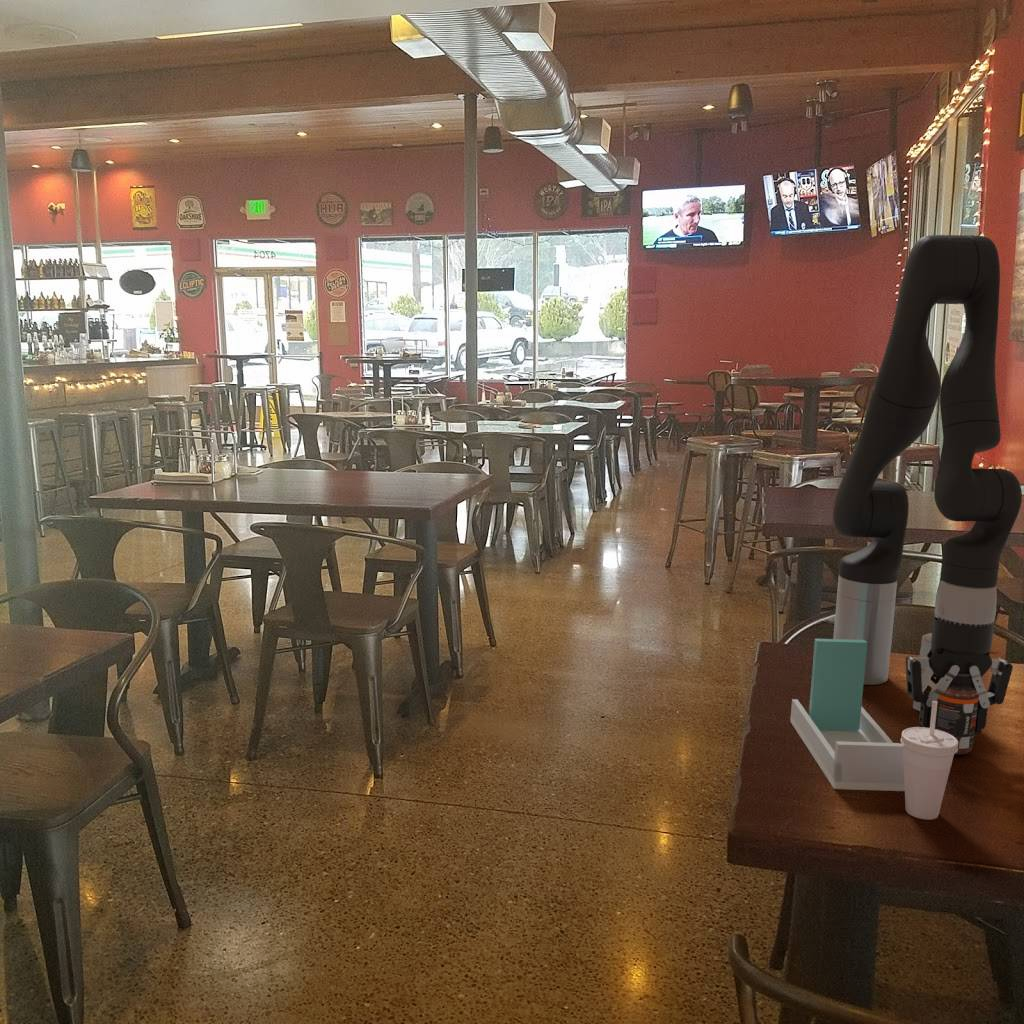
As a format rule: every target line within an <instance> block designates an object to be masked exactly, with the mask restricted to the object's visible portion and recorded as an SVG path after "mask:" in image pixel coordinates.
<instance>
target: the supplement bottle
mask: <svg viewBox="0 0 1024 1024" xmlns="http://www.w3.org/2000/svg"><path fill="white" fill-rule="evenodd" d="M938 682H939V681H938ZM938 682H937V684H938ZM978 700H979V695H978V693H977V691H976V690H975V689H974V686H973V685H972V679H971V676H970V674H969V673H958V674H957V675H956V677H955V678H953V680H952V681H951V683H950V684H949V686H948V688H947V689H946V691H945V692H944V694H940V697H939V698H938V700H937V702H938V703H937V712H936V722H935V729H937V730H940V731H943V732H946V733H948V734H950V735H952V736H954V737H955V738H956V739H957V740H958V751H957V753H955V754H954V755H957V756H958V755H960V756H961V755H966V754H969V753H970V752H972V750H973V748H974V740H975V734H976V733H975V726H976V717H977V709H978Z"/></svg>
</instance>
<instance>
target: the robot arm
mask: <svg viewBox="0 0 1024 1024" xmlns="http://www.w3.org/2000/svg"><path fill="white" fill-rule="evenodd" d="M999 256H1000V255H999V252H998V249H997V246H996V245H995V243H994V241H993V240H992V239H991V238H989V237H988V236H983V235H975V234H973V235H972V234H931V235H930V234H929V235H924V236H922V237H921V238H919V239H917V241H916V242H915V243H914V244H913V246H912V248H911V250H910V251H909V253H908V257H907V259H906V262H905V267H904V270H903V273H902V279H901V283H900V288H899V292H898V297H897V301H896V306H895V307H896V308H895V312H894V318H893V322H892V326H891V330H890V332H889V333H890V334H889V338H888V341H887V344H886V348H885V351H884V355H883V358H882V361H881V364H880V367H879V370H878V372H877V375H876V379H875V381H874V384H873V387H872V391H871V393H870V397H869V400H868V405H867V407H866V412H865V416H864V420H863V423H862V426H861V429H860V432H859V433H860V434H859V436H858V439H857V443H856V446H855V448H854V451H853V454H852V455H851V458H850V461H849V462H848V465H847V467H846V469H845V472H844V475H843V477H842V479H841V482H840V484H839V486H838V489H837V492H836V495H835V498H834V504H833V509H832V510H833V511H832V519H833V526H834V529H835V530H836V531H837V532H838V533H839V534H840V535H842V536H846V537H849V538H873V539H872V541H871V542H870V543H869V544H868V545H866V546H865V547H864V548H862V549H860V550H857V551H855V552H853V553H850V554H847V555H845V556H843V557H842V558H841V559H840V561H839V567H838V568H839V569H838V577H837V578H838V579H837V591H836V592H837V593H836V602H835V603H836V604H835V615H834V627H833V637H832V639H847V640H865V641H866V642H867V652H866V663H865V674H864V685H868V686H870V685H881V684H884V683H886V682H887V681H888V679H889V672H890V671H889V670H890V669H889V668H890V659H891V650H892V641H893V630H894V629H893V628H894V620H895V609H896V597H897V587H898V579H899V577H898V576H899V571H900V568H901V565H902V560H903V554H904V553H903V552H904V545H905V539H906V538H905V537H906V532H907V527H908V526H907V525H908V521H909V503H910V502H909V495H908V493H907V490H906V488H905V487H904V485H902V484H901V483H899V482H896V481H880V480H879V481H877V479H878V477H879V476H880V474H881V473H882V471H883V470H884V469H885V468H886V467H888V465H889V464H890V463H891V462H893V461H894V459H896V458H897V457H898V456H899V455H901V454H902V453H903V452H904V451H905V450H907V449H908V448H909V447H910V446H911V445H912V444H913V443H915V442H916V441H917V440H918V439H919V438H920V436H922V434H923V433H924V432H925V430H927V428H928V426H929V423H930V422H931V419H932V416H933V413H934V410H935V408H936V405H937V403H938V399H939V408H940V416H941V417H940V418H941V425H942V426H941V429H942V445H941V446H942V447H941V453H940V457H939V458H940V459H939V465H938V470H937V475H936V479H935V483H934V489H933V491H934V495H933V497H934V501H935V505H936V508H937V509H938V512H939V513H940V514H941V515H942V516H943V517H944V518H945V519H947V520H949V521H952V522H974V524H973V527H972V528H971V529H970V530H969V531H967V532H966V533H964V534H961V535H958V536H954V537H950V538H949V539H947V541H945V543H944V545H943V548H942V556H941V566H940V567H941V568H940V574H939V575H940V577H939V582H938V586H937V590H936V594H935V602H934V603H935V604H934V611H933V618H932V619H933V621H932V630H931V633H932V638H931V649H930V651H929V653H928V654H927V656H925V657H920V656H919V657H918V656H916V657H915V656H913V655H912V654H910V655H907V656H906V657H905V674H906V675H905V676H906V693H907V695H908V696H909V697H911V699H912V700H913V702H914V701H915V702H920V703H921V705H920V711H919V717H918V722H919V724H920V726H922V727H925V728H930V721H931V712H932V702H933V701H937V700H938V698H939V697H940V694H944V692H945V691H946V689H947V688H948V686H949V684H950V683H951V681H952V680H953V678H955V677H956V675H957V674H958V673H969V674H970V676H971V679H972V685H973V686H974V689H975V690H976V691H977V693H978V695H979V700H978V709H977V717H976V726H975V734H981V733H982V730H984V729H985V728H986V726H987V718H988V717H987V716H988V710H989V708H990V707H991V706H993V705H1002V704H1003V703H1004V700H1005V697H1006V694H1007V690H1008V686H1009V683H1010V680H1011V675H1012V672H1013V668H1014V666H1013V665H1012V663H1010V662H1009V661H1008V660H1006V659H1004V657H998V658H992V657H991V654H990V653H991V649H992V644H993V636H994V628H995V619H996V618H995V617H996V616H997V600H998V598H997V595H998V594H997V584H998V577H999V576H998V575H999V569H1000V567H999V566H1000V558H1001V555H1002V553H1003V550H1004V548H1005V546H1006V543H1007V541H1008V539H1009V537H1010V534H1011V531H1012V529H1013V528H1014V527H1013V526H1014V525H1015V523H1016V520H1017V518H1018V516H1019V512H1020V510H1021V507H1022V500H1023V492H1022V487H1021V483H1020V481H1019V479H1018V478H1017V476H1016V475H1015V474H1014V473H1013V472H1012V471H1010V470H1007V469H1004V468H973V467H972V465H973V460H974V457H975V455H976V454H979V453H982V452H983V453H984V452H986V451H990V450H992V449H995V448H996V447H997V446H998V445H1000V441H1001V437H1002V436H1001V435H1002V433H1001V425H1000V414H999V406H998V405H999V403H998V395H997V381H996V353H997V351H996V350H997V340H998V339H997V338H998V327H999V325H998V324H999V323H998V322H999V309H1000V308H999V307H1000V306H999V305H1000V304H999V303H1000V290H1001V289H1000V285H1001V266H1000V258H999ZM935 305H963V309H964V315H965V326H964V332H963V335H962V339H961V341H960V343H959V346H958V348H957V350H956V352H955V355H954V356H953V358H952V360H951V362H950V363H949V365H948V367H947V370H946V372H945V374H944V376H943V379H942V382H941V377H940V373H939V370H938V367H937V364H936V361H935V359H934V356H933V354H932V351H931V348H930V345H929V343H928V337H927V329H928V323H929V318H930V315H931V312H932V309H933V308H934V306H935ZM927 665H929V666H930V668H931V669H932V673H931V674H930V676H929V678H928V679H927V681H926V686H925V687H924V689H923V691H922V677H921V673H924V671H925V668H926V666H927ZM989 669H990V672H991V677H990V681H989V684H988V689H986V687H985V684H984V681H983V679H982V678H983V676H984V675H985V674H986V673H987V672H988V671H989ZM938 681H939V682H938ZM937 682H938V684H937Z"/></svg>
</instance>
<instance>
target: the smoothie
mask: <svg viewBox="0 0 1024 1024" xmlns="http://www.w3.org/2000/svg"><path fill="white" fill-rule="evenodd" d="M937 703H938V702H937V701H933V702H932V712H931V721H930V728H925V727H923V726H922V727H921V726H913V727H912V726H911V727H907V728H905V729H903V730H902V731H901V738H900V743H902V744H903V749H904V779H905V791H904V801H905V803H904V805H905V806H904V807H905V811H906V813H907V814H908V815H910V816H912V817H914V818H917V819H920V820H926V821H927V820H930V821H931V820H936V819H937V818H939V814H940V810H941V806H942V803H943V799H944V795H945V791H946V788H947V787H946V786H947V783H948V779H949V775H950V772H951V768H952V763H953V759H954V756H955V755H956V754H955V753H957V751H958V740H957V739H956V738H955V737H954V736H952V735H950V734H948V733H946V732H943V731H940V730H937V729H935V722H936V712H937Z"/></svg>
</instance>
